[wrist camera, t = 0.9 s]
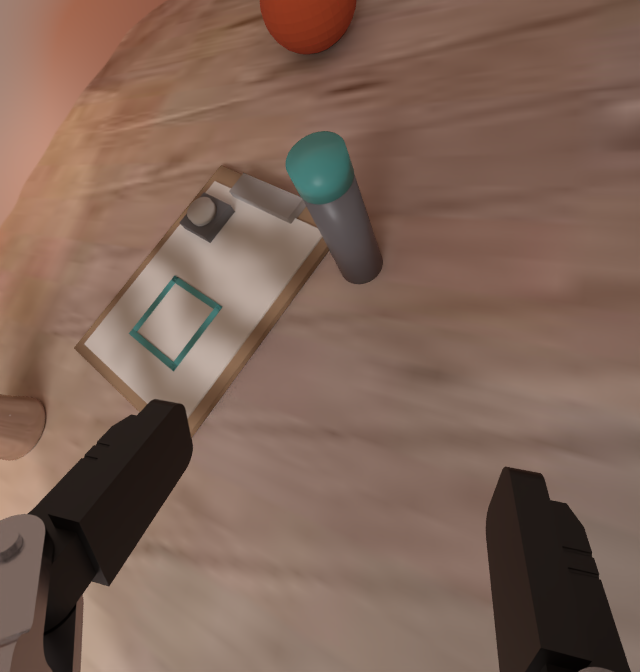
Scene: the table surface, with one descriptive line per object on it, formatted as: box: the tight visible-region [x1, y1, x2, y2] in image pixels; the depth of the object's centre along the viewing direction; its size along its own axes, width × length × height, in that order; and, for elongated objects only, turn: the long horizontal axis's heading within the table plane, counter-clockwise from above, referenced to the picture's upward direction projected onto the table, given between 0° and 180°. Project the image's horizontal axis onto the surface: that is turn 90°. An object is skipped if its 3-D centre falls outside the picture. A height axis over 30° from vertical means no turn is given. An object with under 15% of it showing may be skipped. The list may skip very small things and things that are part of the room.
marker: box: [286, 131, 383, 284], centre depth 30 cm, size 4×4×12 cm
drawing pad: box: [74, 165, 329, 438], centre depth 38 cm, size 24×17×3 cm
